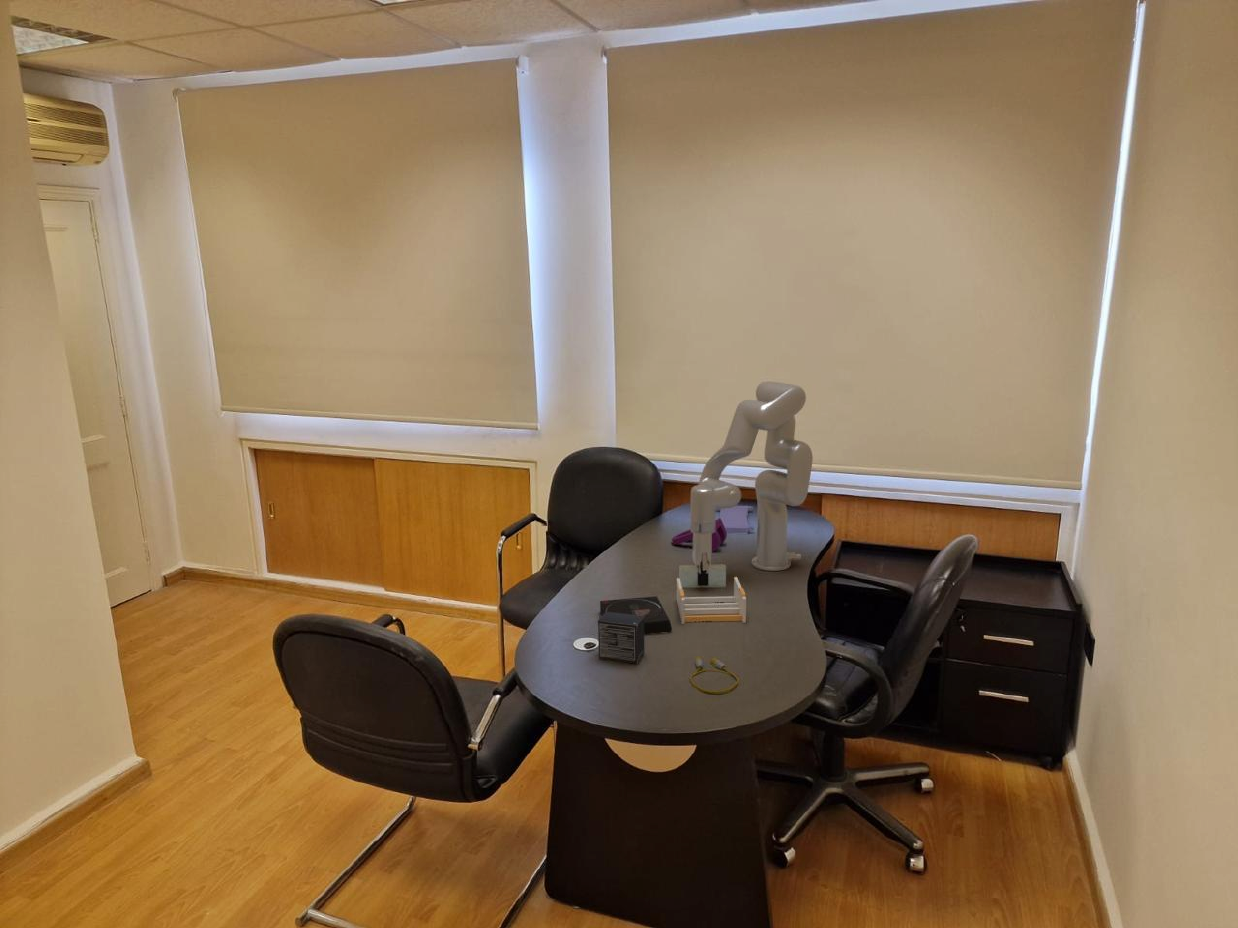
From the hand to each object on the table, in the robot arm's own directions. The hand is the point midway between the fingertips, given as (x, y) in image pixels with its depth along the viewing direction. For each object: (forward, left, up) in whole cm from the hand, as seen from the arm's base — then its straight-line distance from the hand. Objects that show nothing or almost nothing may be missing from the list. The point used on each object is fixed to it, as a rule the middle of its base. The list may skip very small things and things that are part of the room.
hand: (702, 582), depth 247 cm
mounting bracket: (-3, -37, -1) cm, 37 cm away
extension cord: (+4, +57, -2) cm, 57 cm away
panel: (0, 0, -1) cm, 1 cm away
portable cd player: (+21, +25, -2) cm, 33 cm away
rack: (0, +19, -1) cm, 19 cm away
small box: (+25, +45, -1) cm, 52 cm away
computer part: (-19, -64, -2) cm, 67 cm away
